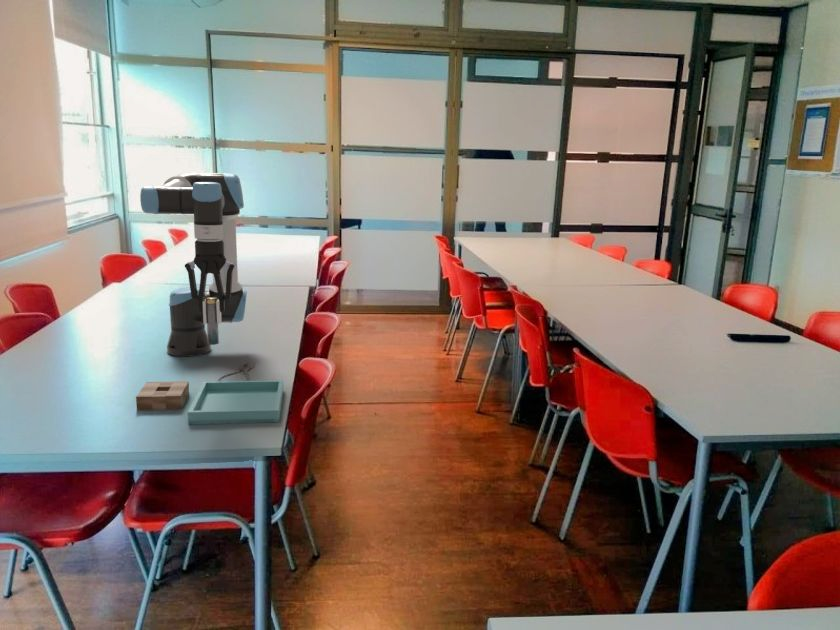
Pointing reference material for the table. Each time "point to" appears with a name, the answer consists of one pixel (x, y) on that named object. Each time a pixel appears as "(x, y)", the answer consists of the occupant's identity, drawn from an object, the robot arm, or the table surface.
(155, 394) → the pin block
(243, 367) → the pliers
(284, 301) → the table surface
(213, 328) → the pin
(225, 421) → the tray
